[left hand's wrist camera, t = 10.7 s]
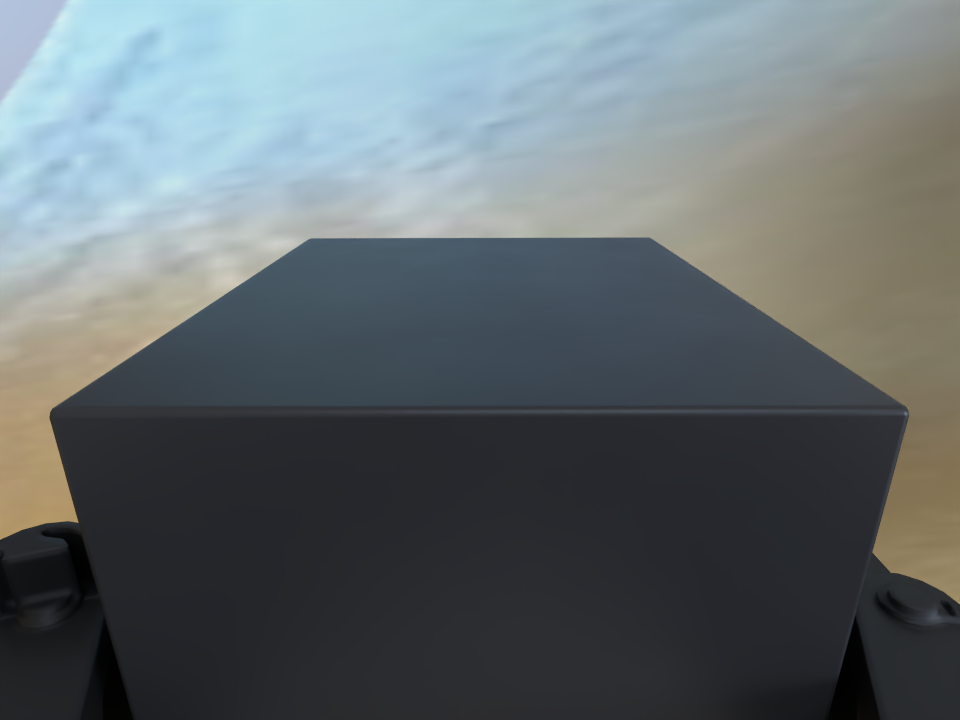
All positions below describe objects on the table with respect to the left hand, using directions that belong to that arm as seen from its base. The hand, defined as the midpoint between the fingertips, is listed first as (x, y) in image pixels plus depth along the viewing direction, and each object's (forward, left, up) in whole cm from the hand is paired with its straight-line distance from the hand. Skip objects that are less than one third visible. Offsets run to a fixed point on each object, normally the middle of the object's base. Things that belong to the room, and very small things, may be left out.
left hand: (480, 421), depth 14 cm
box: (+2, +8, 0) cm, 8 cm away
